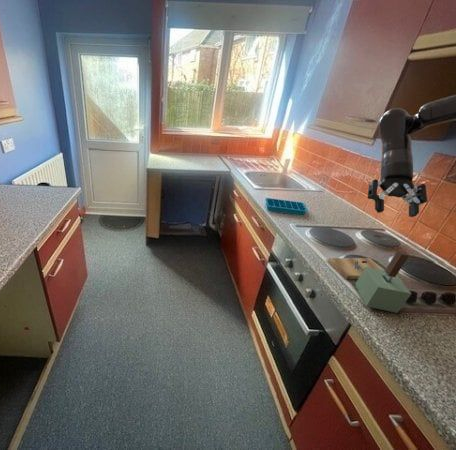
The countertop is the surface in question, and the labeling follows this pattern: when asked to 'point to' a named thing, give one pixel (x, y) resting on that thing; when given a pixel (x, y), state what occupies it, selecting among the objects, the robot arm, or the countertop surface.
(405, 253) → the knife
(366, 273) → the grey-green block
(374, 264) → the cutting board
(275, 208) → the ice cube tray
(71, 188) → the countertop surface
